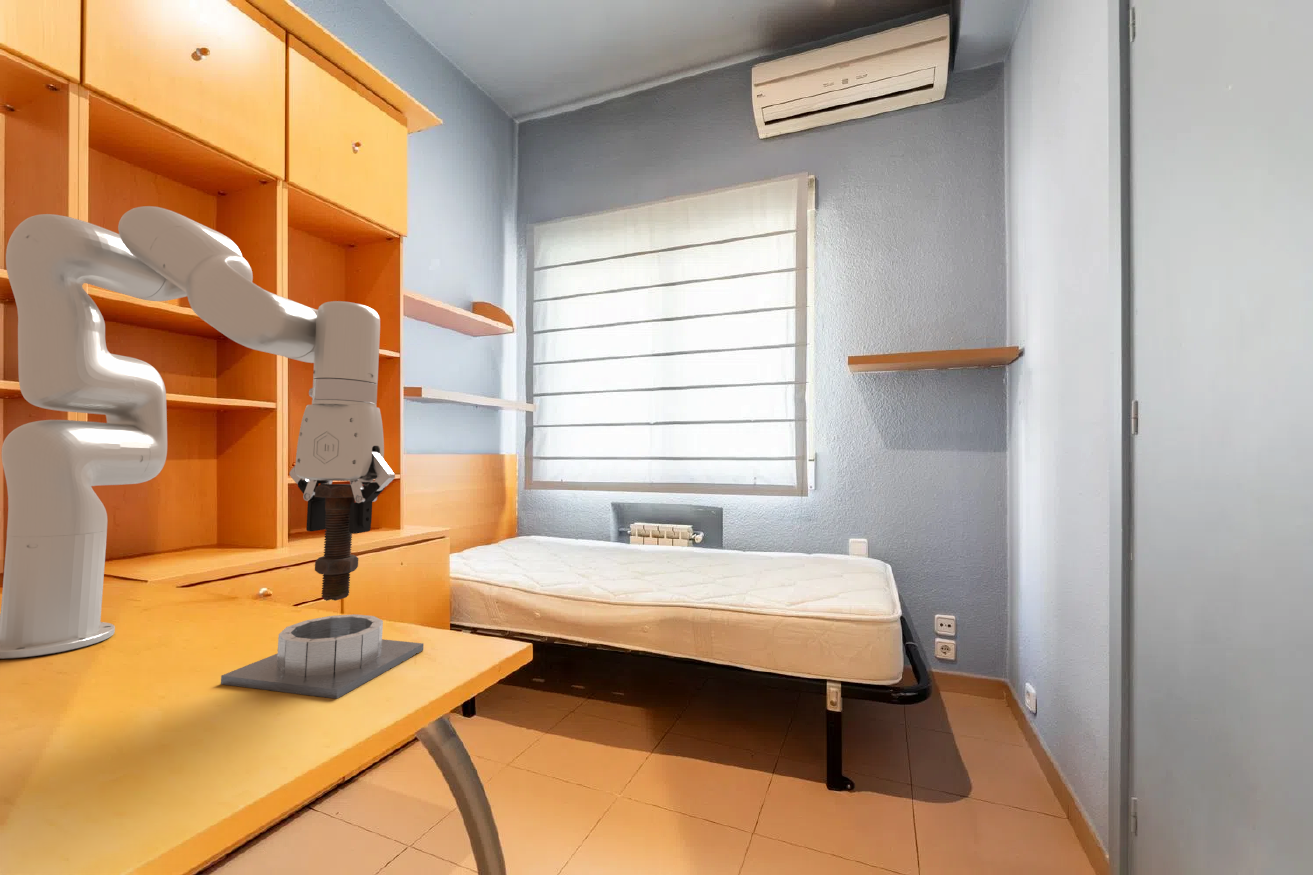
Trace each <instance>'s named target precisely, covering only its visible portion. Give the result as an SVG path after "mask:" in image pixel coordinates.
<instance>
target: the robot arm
mask: <svg viewBox="0 0 1313 875" xmlns="http://www.w3.org/2000/svg"><path fill="white" fill-rule="evenodd" d="M117 229H118V233H117V232H115V231H112V230H110V229H107V228H105V227H102V226H99V225H97V224H95V223H91V222H88V221H84V220H81V219H78V218H73V217H70V216H64V215H59V214H50V213H44V214H43V213H41V214H35V215H33V216H29V217H27V218H26V219H24V220H23V221H21V222H20V223H19V224H18V225H17V226H16V227H15V228H14V230H13V232H12V233H11V235H10V237H9V240H8V242H7V246H6V251H5V266H6V273H7V276H8V277H7V278H8V282H9V284H10V286H11V287H10V288H11V290H12V295H13V297H14V299H15V304H16V309H17V317H18V318H17V320H18V321H17V355H18V356H17V359H18V363H17V364H18V368H17V369H18V383H19V390H20V392H21V395H22V396H23V398H24V400H26V402H28V403H29V404H31V405H32V406H35V407H39V408H41V409H46V410H52V411H59V412H67V413H69V412H70V413H79V414H92V415H93V414H94V415H105V418H106V422H99V421H84V420H70V419H46V420H45V419H43V420H37V421H32V422H28V423H24V424H22V425H20V426H18V427H16V428H14V429H13V430H12V431H10V433H8V435H6V437H5V438H4V440H3V443H2V446H1V463H2V467H3V472H4V477H5V481H6V487H7V498H8V499H7V509H8V511H7V528H6V542H5V543H6V544H5V545H6V546H5V557H4V569H3V579H2V580H3V581H2V592H1V593H2V594H1V606H0V659H18V658H28V657H29V658H31V657H37V656H45V655H52V654H56V653H61V652H62V653H63V652H67V651H71V650H76V649H80V648H84V647H87V646H91V645H93V644H97V643H100V642H102V641H106V640H107V639H109V638H111V637H112V636H113V635H115V631H116V626H115V625H114V624H113V623H110V622H105V621H101V620H102V619H101V618H102V604H103V591H104V578H105V577H104V575H105V563H106V553H107V552H106V551H107V550H106V549H107V537H108V536H107V534H108V513H107V510H106V507H105V505H104V503H103V502H102V501H101V498H99V496H98V495H97V493H96V492H95V491H94V489H93V487H96V486H120V485H123V486H124V485H137V484H141V483H146V482H148V481H151V480H152V479H154V478H156V477H157V476H158V475H159V474H160V473H161V471H162V470H163V468H164V466H165V464H166V461H167V455H168V421H167V420H168V419H167V418H168V417H167V416H168V415H167V413H168V412H167V411H168V409H167V390H166V386H165V382H164V380H163V378H162V376H161V374H160V373H159V371H158V370H157V369H156V368H155V367H154V366H152V365H151V364H150V363H148V362H146V361H144V360H141V359H138V358H136V357H132V356H125V355H120V354H115V353H110V351H109V350H108V348H107V343H106V323H105V322H106V321H105V320H104V316H103V315H102V313H101V311H100V309H99V307H98V306H97V304H96V302H95V301H94V299H92V297H91V296H90V295H89V294H88V293H87V291H86V290H85V288H84V287H83V285H85V284H87V285H91V286H94V287H97V288H100V289H104V290H108V291H112V292H115V293H118V294H122V295H126V296H129V297H132V298H136V299H140V300H144V301H149V302H166V301H167V302H168V301H172V300H177V299H182V298H186V297H187V301H188V303H189V306H190V308H191V310H192V311H193V312H194V313H195V315H196V316H198V318H200V319H201V320H202V321H204V322H205V323H207V324H208V325H209V326H211V327H213V328H214V329H215V330H217V332H219V333H221V334H223V335H224V336H225V337H227V338H228V339H230V340H231V341H233V342H235V343H237V344H239V345H241V346H244V347H245V348H248V349H251V350H254V351H259V352H264V353H267V354H268V353H269V354H273V355H277V356H281V357H285V358H287V359H290V360H291V359H292V360H295V361H299V362H304V363H310V364H313V374H312V377H313V378H312V379H313V380H312V387H311V388H309V391H308V395H309V397H310V398H312V399H311V404H307V405H306V407H305V409H304V412H303V415H302V417H301V418H302V419H301V423H300V429H299V434H298V438H297V446H296V455H295V456H296V457H295V464H294V466H293V467H292V468H291V470H290V471H289V477H290V478H291V479H292V480H293V481H294V483H295V484H297V487H298V489H299V491H301V493H302V494H303V496H302V497H303V500H304V501H306V502H307V511H306V512H307V513H306V514H307V515H306V527H305V528H306V529H305V530H306V531H307V532H317V531H323V530H325V529H326V527H325V526H326V524H325V523H326V522H325V521H327V520H325V519H326V517H325V516H327V515H326V510H325V497H315V488H316V487H317V486H319V485H324V484H333V482H335V481H336V482H337V481H338V482H339V481H340V482H345V481H346V482H349V484H351V487H352V491H353V495H354V499H355V503H351V505H350V521H349V532H350V533H351V534H352V535H357V534H363V533H367V532H370V531H371V529H372V517H373V516H372V514H373V502H374V503H375V502H376V501H377V500H378V496H379V495H380V494H381V493H382V492H384V490H385V488H386V487H387V486H389V484H390V483H392V482H393V480H395V478H396V475H395V473H394V472H393V470H392V468H391V467H390V466H389V465H388V463H387V462H386V461H385V440H384V428H383V427H384V426H383V420H382V413H381V409H380V407H377V405H378V404H377V403H378V402H377V401H378V383H379V382H378V381H379V360H380V359H379V358H380V357H379V356H380V343H381V342H380V341H381V340H380V338H381V335H380V334H381V318H380V315H379V314H378V312H377V311H376V310H375V309H374V308H371V307H369V306H367V305H365V304H361V303H355V302H350V301H341V300H338V301H337V300H333V301H327V302H326V301H325V302H323V303H322V304H321V305H319V306H318V309H315V308H313V307H309V306H307V305H305V304H302V303H299V302H297V301H294V300H292V299H290V298H287V297H283V296H281V295H278V294H275V293H274V292H270V291H268V290H266V289H264V288H262V287H261V286H259V285H257V284H256V283H254V282H253V281H254V280H253V279H254V276H253V275H254V274H253V271H252V270H253V269H252V267H251V266H250V263H249V261H248V260H246V259H245V257H243V254H242V252H241V250H240V248H239V246H238V245H237V244H236V243H235V242H234V240H232V239H231V238H230V237H228V236H226V235H224V234H223V233H221V232H220V231H217V230H216V229H213V228H211V227H208V226H206V225H204V224H202V223H199V222H197V221H195V220H193V219H191V218H189V217H187V216H186V215H182V214H180V213H179V212H176V211H173V210H170V209H167V208H164V207H159V206H153V205H152V206H151V205H147V206H144V205H143V206H137V207H134V208H131V209H130V210H127V211H126V212H125V213H124V214H123V215H122V216H121V218H120V220H119V221H118V226H117ZM362 485H363V486H364V490H363V486H362ZM325 531H326V530H325Z"/></svg>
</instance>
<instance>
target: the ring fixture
mask: <svg viewBox="0 0 1313 875" xmlns="http://www.w3.org/2000/svg"><path fill="white" fill-rule="evenodd" d="M383 624H384V620H383V619H380V618H378V617H377V616H374V615H367V614H366V615H364V614H354V613H353V614H342V615H338V614H337V615H329V616H324V617H318V618H313V619H306V620H302V621H299V622H298V623H295V624H291V625H289V626H286V627H285V628H283V630H282V631H281V632H280V633H278V641H277V653H275V654H272V655H270V656H268V657H265V658H262V659H259V660H257V661H255V662H252V663H250V664H247V665H245V666H242V667H240V668H237V669H234V670H231V671H229V672H227V673H224V674H222V675H221V676H220V685H226V686H233V687H240V688H241V687H242V688H249V689H257V690H264V691H271V692H272V691H273V692H278V693H279V692H280V693H289V694H297V695H304V696H313V697H321V698H329V699H335V700H337V699H339V698H341V697H342V696H345V695H347V694H348V693H350V692H351V691H353V690H355V689H357V688H359V687H360V686H362V685H364V684H366V683H368V682H369V681H371V680H373V679H375V678H377V677H378V676H380V675H382V674H384V673H386V672H387V671H389V670H391V669H393V668H394V667H396V666H398V665H400V664H402V663H403V662H402V661H404V662H406V661H407V660H409V659H411V658H413V657H414V656H416V655H417V654H416V653H418V654H419V652H420V653H421V651H422V650H423V651H424V643H423V642H413V641H402V640H393V639H392V640H391V639H383V629H384V628H383V627H384V626H383ZM423 651H422V652H423ZM415 654H416V655H415ZM413 655H414V656H413ZM412 656H413V657H412ZM410 657H411V658H410ZM408 658H409V659H408ZM401 662H402V663H401ZM390 668H391V669H390ZM385 671H386V672H385Z"/></svg>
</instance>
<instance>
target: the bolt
mask: <svg viewBox="0 0 1313 875" xmlns="http://www.w3.org/2000/svg"><path fill="white" fill-rule="evenodd" d="M362 486H363V484H362ZM363 490H364V486H363ZM315 497H325V510H326V515H327V516H325V517H326V519H325V520H327V521H325V522H326V523H325V524H326V526H325V527H326V529H325V531H324V544H323V546H324V547H323V548H324V549H323V551H324V552H323V553H324V554H323V556H319V557H318V558H316V560H315V561H314V571H315V572H316V573H317V574H319V575H322V583H321V584H322V585H321V587H322V588H321V597H322V598H323V600H324V601H326V602H327V601H330V600H331V601H338V600H342V599H346V598H347V597H348V596H349V595H350V584H351V583H350V581H351V579H350V578H351V573H353V572H354V571H356V570H357V568H358V567H359V557H357V555H355V554H352V548H353V547H352V543H353V534H351V533H350V532H349V521H350V505H351V503H356V501H355V499H354V495H353V491H352V487H351V484H350V483H332V484H324V485H320V484H319V485H318V486H317V487H316V488H315Z"/></svg>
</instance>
